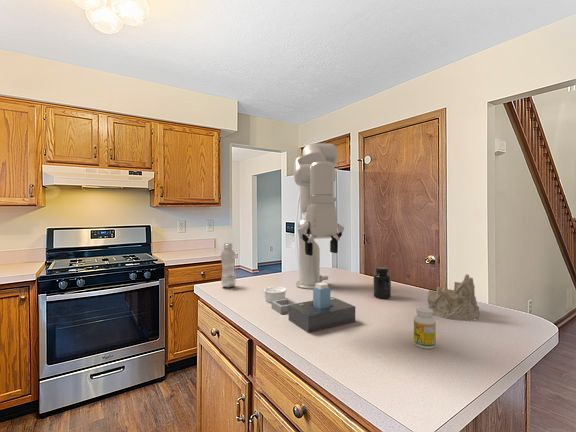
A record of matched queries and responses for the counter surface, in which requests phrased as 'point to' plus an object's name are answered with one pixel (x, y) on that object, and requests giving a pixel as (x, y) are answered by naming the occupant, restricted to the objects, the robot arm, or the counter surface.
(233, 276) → the plastic bottle
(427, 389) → the counter surface
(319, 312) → the port panel
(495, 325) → the counter surface
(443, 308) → the ceramic cottage
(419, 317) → the supplement bottle
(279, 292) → the ramekin
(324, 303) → the plug
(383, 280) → the supplement bottle
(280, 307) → the frame
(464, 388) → the counter surface
